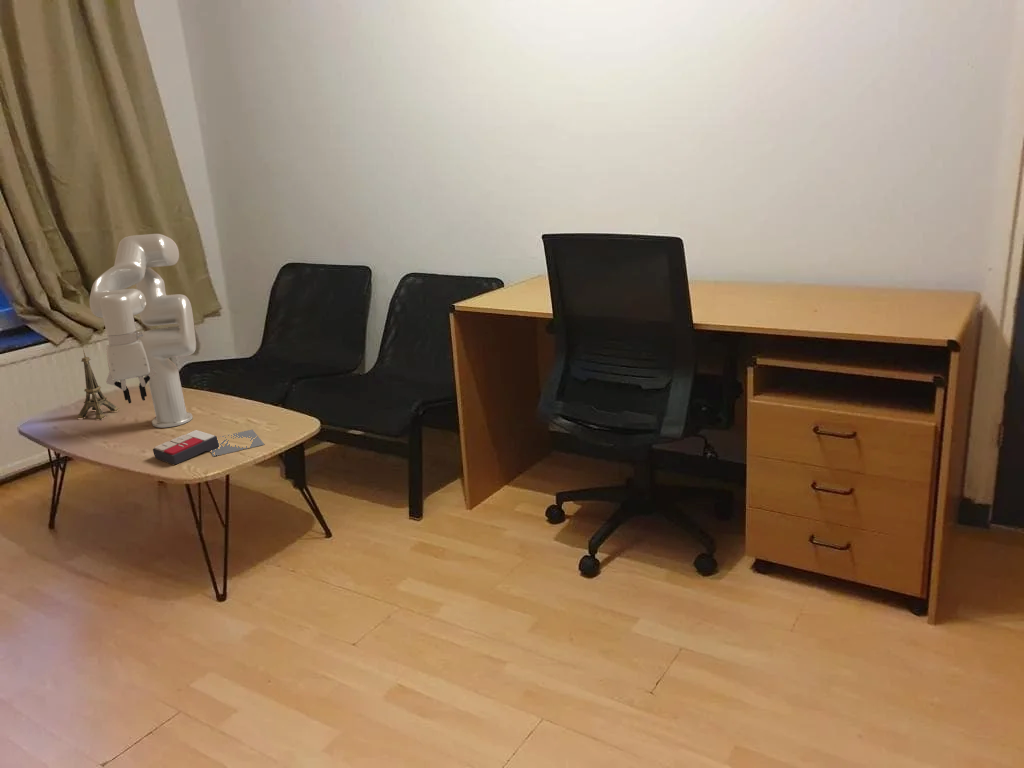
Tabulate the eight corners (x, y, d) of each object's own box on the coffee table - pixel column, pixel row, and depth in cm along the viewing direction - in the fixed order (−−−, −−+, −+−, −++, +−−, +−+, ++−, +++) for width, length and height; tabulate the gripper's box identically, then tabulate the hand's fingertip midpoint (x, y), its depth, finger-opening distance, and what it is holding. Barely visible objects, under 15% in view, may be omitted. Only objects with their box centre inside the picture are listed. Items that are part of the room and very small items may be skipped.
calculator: (151, 446, 237) (196, 427, 248) (155, 459, 239) (199, 440, 250) (171, 453, 231) (216, 433, 242) (175, 467, 232) (219, 446, 243)
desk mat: (203, 440, 250) (203, 440, 250) (252, 429, 257) (252, 429, 257) (213, 456, 236) (213, 456, 236) (264, 444, 243) (264, 444, 243)
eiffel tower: (96, 409, 287) (80, 342, 280) (121, 409, 285) (106, 342, 278) (75, 420, 278) (58, 350, 270) (101, 420, 275) (85, 350, 268)
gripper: (152, 331, 231) (165, 391, 237) (90, 341, 224) (104, 403, 229) (156, 336, 225) (168, 397, 231) (91, 346, 218) (106, 410, 223)
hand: (136, 400), depth 230 cm, fingers open, 3 cm apart
